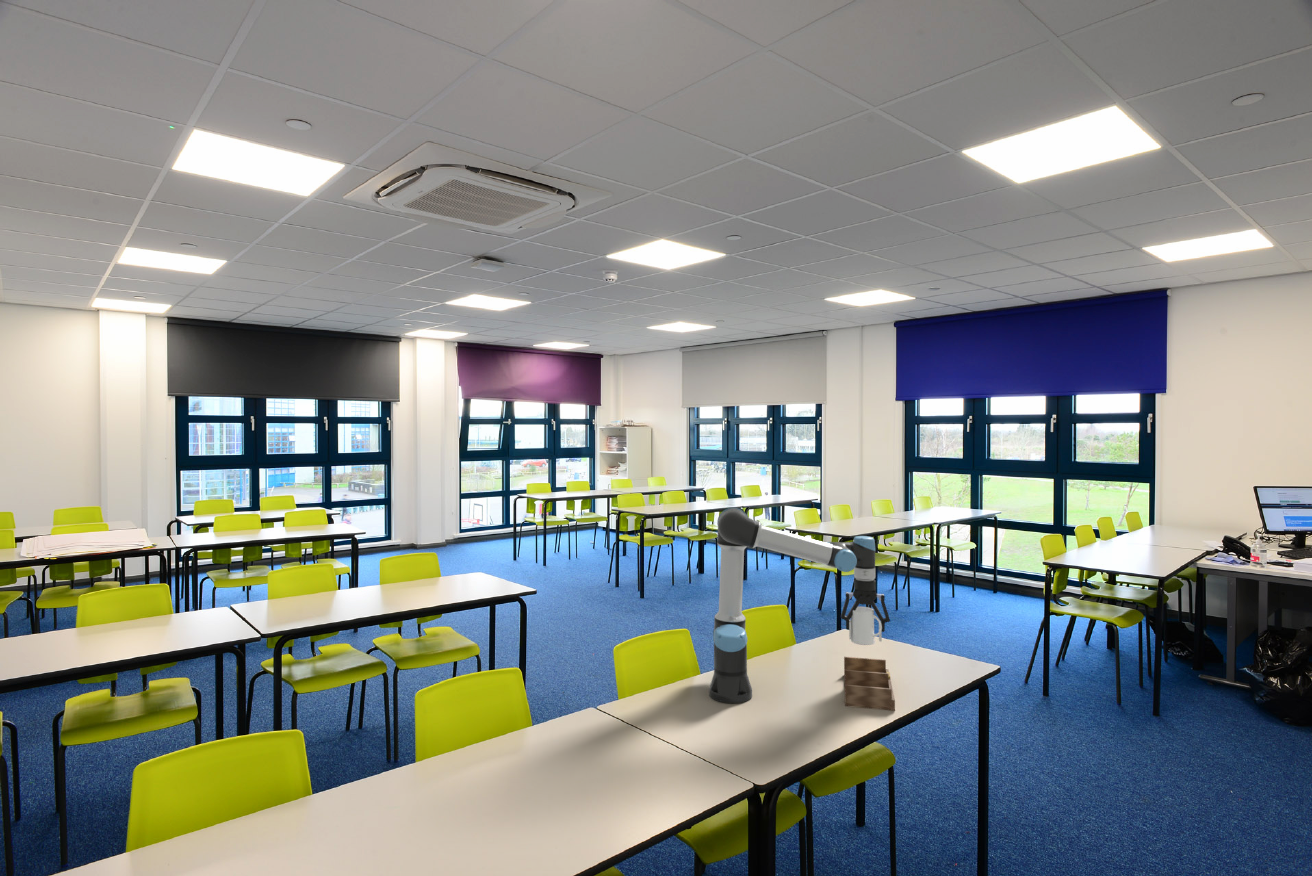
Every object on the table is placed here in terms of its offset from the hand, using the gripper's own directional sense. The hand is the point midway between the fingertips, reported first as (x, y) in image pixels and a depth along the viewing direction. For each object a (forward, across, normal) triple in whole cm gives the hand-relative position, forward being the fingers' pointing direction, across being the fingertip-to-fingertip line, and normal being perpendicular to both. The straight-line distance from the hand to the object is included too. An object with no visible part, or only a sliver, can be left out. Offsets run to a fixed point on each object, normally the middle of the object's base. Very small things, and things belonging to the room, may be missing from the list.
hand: (865, 639), depth 245 cm
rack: (+16, 0, -7) cm, 18 cm away
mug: (+1, 0, 0) cm, 1 cm away
